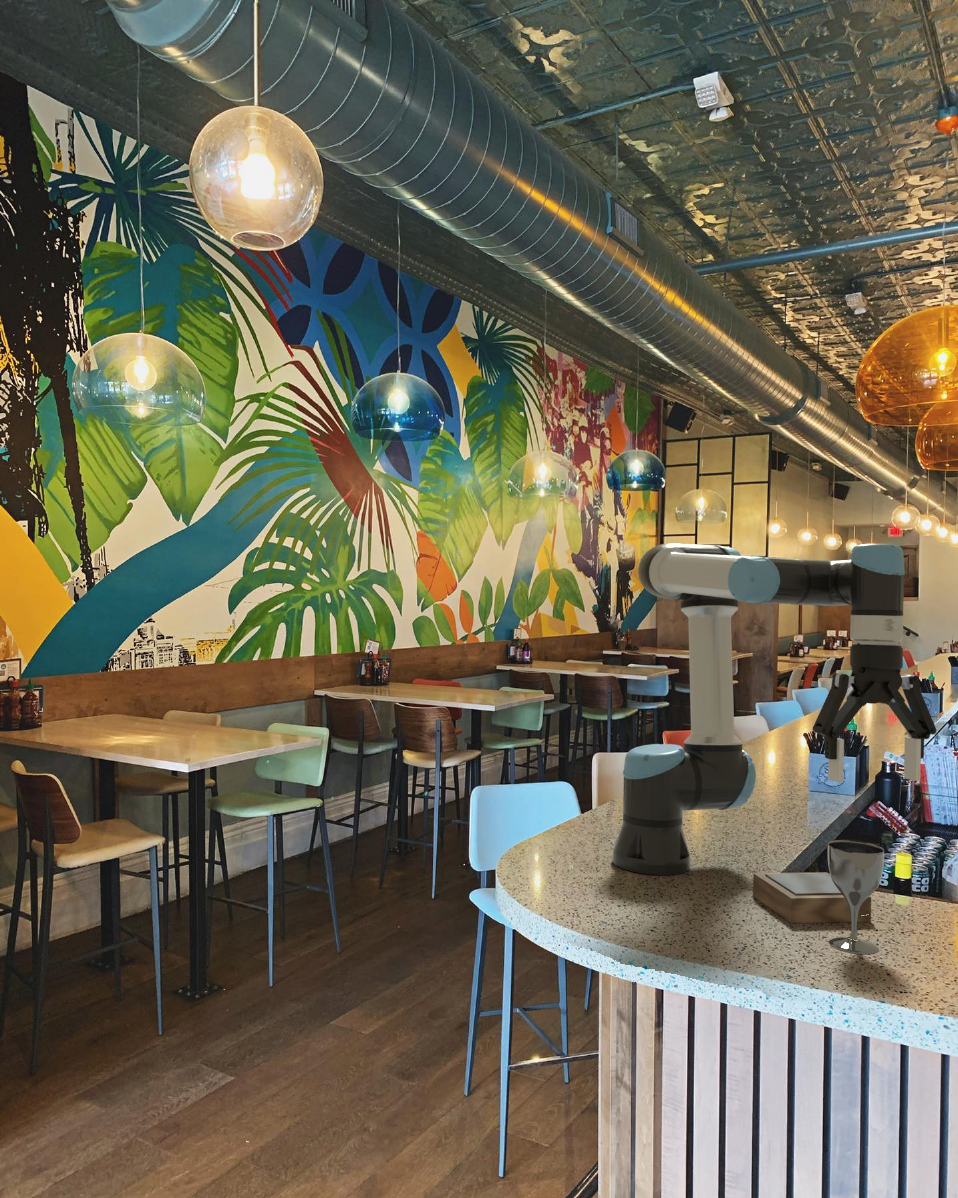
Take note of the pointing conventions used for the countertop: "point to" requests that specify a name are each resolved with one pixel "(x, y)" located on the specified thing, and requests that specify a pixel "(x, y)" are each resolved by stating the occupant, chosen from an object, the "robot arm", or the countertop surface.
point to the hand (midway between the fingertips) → (874, 780)
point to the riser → (805, 897)
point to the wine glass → (855, 884)
